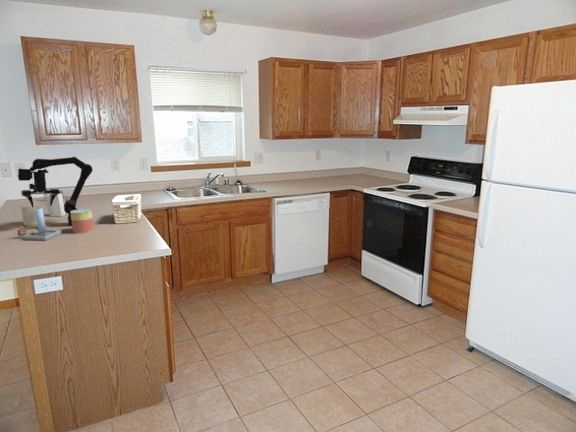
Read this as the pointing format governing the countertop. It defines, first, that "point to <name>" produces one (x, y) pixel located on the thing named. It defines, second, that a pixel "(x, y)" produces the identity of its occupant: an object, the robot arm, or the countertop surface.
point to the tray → (42, 238)
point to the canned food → (82, 220)
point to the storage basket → (127, 208)
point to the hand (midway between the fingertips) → (41, 206)
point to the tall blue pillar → (40, 223)
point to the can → (29, 214)
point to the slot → (23, 230)
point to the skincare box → (56, 205)
